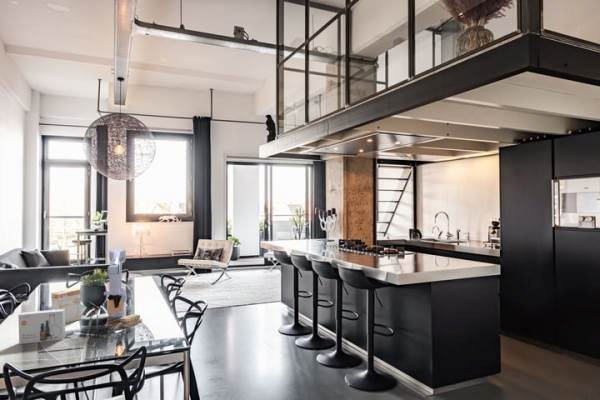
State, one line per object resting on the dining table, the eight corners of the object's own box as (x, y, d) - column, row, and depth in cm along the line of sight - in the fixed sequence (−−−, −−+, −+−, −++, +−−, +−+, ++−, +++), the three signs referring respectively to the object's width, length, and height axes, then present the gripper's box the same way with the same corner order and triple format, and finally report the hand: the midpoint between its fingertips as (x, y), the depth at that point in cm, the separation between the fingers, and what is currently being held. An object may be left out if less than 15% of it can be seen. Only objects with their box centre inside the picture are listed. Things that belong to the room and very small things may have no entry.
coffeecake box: (75, 318, 267) (74, 288, 267) (81, 319, 263) (80, 289, 264) (51, 324, 254) (50, 292, 254) (57, 325, 250) (57, 293, 251)
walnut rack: (103, 326, 245) (103, 322, 245) (118, 321, 256) (118, 317, 256) (129, 329, 238) (129, 324, 238) (143, 323, 250) (143, 319, 250)
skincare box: (18, 344, 216) (17, 314, 216) (22, 341, 221) (21, 312, 222) (63, 339, 222) (62, 310, 222) (65, 336, 227) (65, 308, 228)
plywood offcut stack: (118, 326, 241) (118, 318, 242) (132, 321, 252) (132, 313, 252) (128, 327, 239) (128, 319, 239) (141, 321, 249) (141, 314, 249)
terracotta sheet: (107, 314, 244) (107, 300, 244) (120, 310, 254) (119, 297, 254) (110, 314, 243) (109, 301, 244) (122, 310, 253) (122, 297, 253)
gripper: (99, 285, 247) (100, 308, 247) (119, 286, 243) (119, 309, 242) (108, 283, 254) (109, 305, 254) (127, 284, 249) (128, 306, 249)
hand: (115, 307), depth 249 cm, fingers closed on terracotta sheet, 2 cm apart
